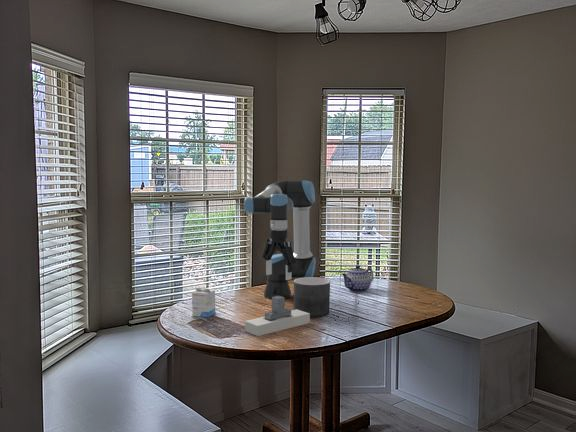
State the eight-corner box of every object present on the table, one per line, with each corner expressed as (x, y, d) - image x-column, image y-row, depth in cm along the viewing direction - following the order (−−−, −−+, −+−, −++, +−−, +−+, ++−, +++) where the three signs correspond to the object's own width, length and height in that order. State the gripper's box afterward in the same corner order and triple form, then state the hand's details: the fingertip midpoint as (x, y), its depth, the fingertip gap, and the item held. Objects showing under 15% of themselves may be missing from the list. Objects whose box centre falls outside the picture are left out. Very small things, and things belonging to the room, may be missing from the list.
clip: (270, 329, 228) (270, 300, 226) (264, 327, 231) (264, 298, 229) (291, 324, 235) (291, 296, 234) (285, 322, 238) (285, 294, 237)
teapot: (364, 285, 318) (364, 261, 317) (382, 290, 305) (383, 265, 304) (332, 290, 304) (333, 265, 302) (350, 296, 291) (350, 269, 290)
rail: (257, 336, 220) (257, 325, 219) (244, 331, 227) (244, 321, 226) (309, 323, 239) (309, 313, 239) (296, 318, 246) (296, 309, 246)
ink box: (215, 313, 254) (215, 286, 253) (207, 317, 247) (207, 289, 245) (200, 311, 257) (200, 284, 256) (191, 316, 249) (191, 288, 248)
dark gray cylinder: (310, 305, 270) (311, 275, 268) (337, 312, 257) (337, 281, 256) (286, 312, 257) (286, 280, 256) (312, 319, 245) (312, 286, 243)
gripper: (254, 227, 236) (254, 273, 238) (291, 232, 217) (290, 283, 219) (267, 226, 241) (267, 271, 243) (304, 231, 222) (303, 280, 224)
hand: (278, 277), depth 231 cm, fingers open, 13 cm apart
